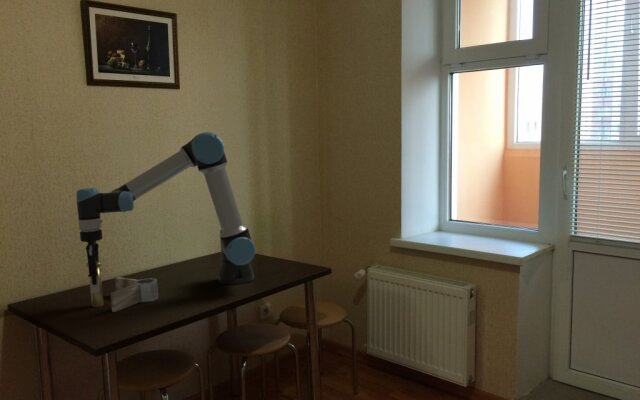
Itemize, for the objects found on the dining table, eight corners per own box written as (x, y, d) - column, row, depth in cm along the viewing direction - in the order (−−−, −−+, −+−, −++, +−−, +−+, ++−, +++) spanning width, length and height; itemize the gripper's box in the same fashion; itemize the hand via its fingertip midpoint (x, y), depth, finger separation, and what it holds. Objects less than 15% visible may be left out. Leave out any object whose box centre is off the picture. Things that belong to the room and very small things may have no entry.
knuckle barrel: (162, 296, 206) (161, 279, 205) (146, 303, 198) (145, 285, 197) (147, 294, 209) (145, 277, 209) (130, 300, 202) (129, 283, 201)
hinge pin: (108, 304, 199) (104, 261, 197) (96, 308, 194) (92, 264, 192) (98, 302, 201) (94, 260, 199) (87, 306, 197) (83, 263, 195)
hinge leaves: (149, 298, 204) (147, 281, 203) (114, 312, 189) (112, 293, 188) (118, 293, 212) (117, 277, 211) (83, 306, 197) (81, 288, 196)
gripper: (99, 232, 187) (105, 296, 190) (103, 225, 204) (109, 283, 206) (76, 234, 185) (82, 298, 188) (82, 227, 201) (88, 286, 204)
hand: (96, 290), depth 197 cm, fingers closed on hinge pin, 4 cm apart
